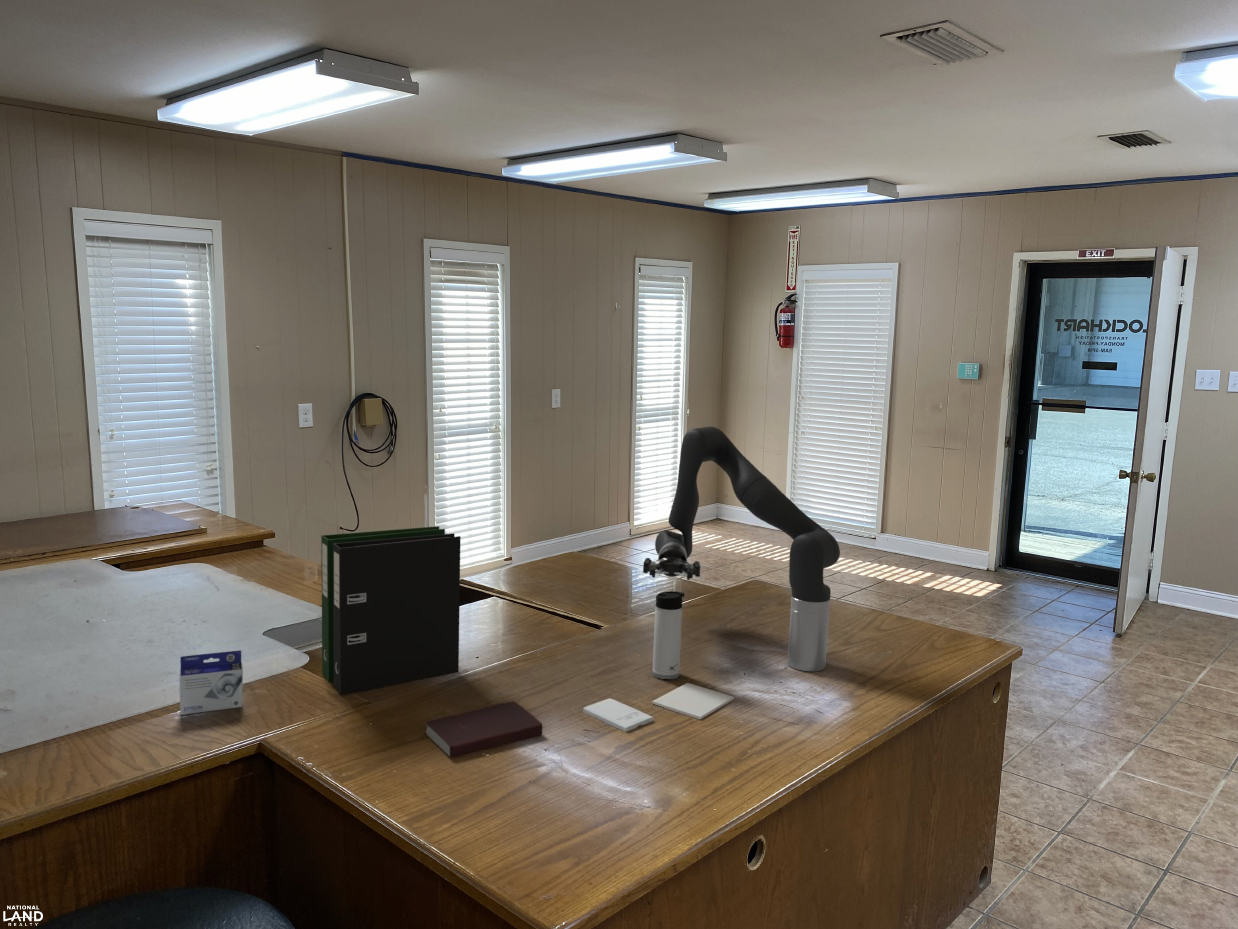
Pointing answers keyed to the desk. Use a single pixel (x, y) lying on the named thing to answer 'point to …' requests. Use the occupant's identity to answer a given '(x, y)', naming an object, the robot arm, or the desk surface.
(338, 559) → the ring binders
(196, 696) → the ink box
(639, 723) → the external hard drive
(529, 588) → the desk surface
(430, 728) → the book
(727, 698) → the white square pad
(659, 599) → the travel mug
